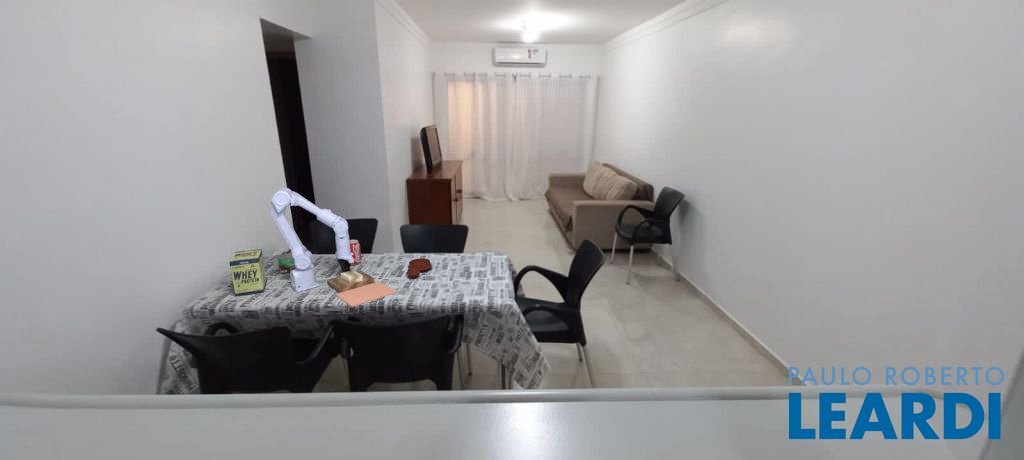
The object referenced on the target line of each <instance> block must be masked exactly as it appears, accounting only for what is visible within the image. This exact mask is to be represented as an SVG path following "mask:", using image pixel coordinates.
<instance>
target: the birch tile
mask: <svg viewBox="0 0 1024 460" xmlns="http://www.w3.org/2000/svg"><path fill="white" fill-rule="evenodd" d="M357 272H358V271H356V270H354V269H353V270H350V271H348V272H344V273H343V272H341V273H340V276H341V279H342V280H344V281H346V282H347V283H349V284H352V283H356V282H360V281H363V276H362V275H361V274H359V273H357Z"/></svg>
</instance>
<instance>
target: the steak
mask: <svg viewBox="0 0 1024 460" xmlns="http://www.w3.org/2000/svg"><path fill="white" fill-rule="evenodd" d="M408 264H409V265H407V269H408V270H407V271H406V272H405V274H406V275H407V277H408V278H409V279H410V280H416V279H417V278H418V276H419V275H420V274H421V273H422V271H423V272H425V271H426V270H428V269H431V268H432V266H433V264H432V263H431V260H430V259H428V258H424V257H423V258H420V257H419V258H414V259H411V260H409V262H408Z"/></svg>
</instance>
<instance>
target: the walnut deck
mask: <svg viewBox="0 0 1024 460" xmlns="http://www.w3.org/2000/svg"><path fill="white" fill-rule="evenodd" d="M356 272H357V273H359V274H361V275H362V276H363V281H360V282H356V283H352V284H349V283H347V282H346V281H344V280H342V279H341V275H340V276H336V277H335V276H334V277H332V278H331V277H330V278H329V279H326V284H327V286H328V287H330V288H332V290H334V291H335V292H337V294H338V293H341V292H344V291H348V290H351V289H355V288H358V287H362V286H365V285H368V284H372V283H375V277H374V276H372V275H370V274H368V273H366V272H364V271H362V270H358V271H356Z"/></svg>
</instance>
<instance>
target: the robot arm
mask: <svg viewBox="0 0 1024 460" xmlns="http://www.w3.org/2000/svg"><path fill="white" fill-rule="evenodd" d="M270 202H271V203H270V209H269V214H270V217H271V218H272V220H273V222H274V223H275V225H276V227H277V229H278V231H279V232H280V234H281V236H282V237H283V239H284V241H285V242H286V244H287V246H288V248H289V250H290V249H291V251H292V256H293V258H294V261H295V266H296V269H294V270H292V271H290V273H289V277H290V278H289V279H290V282H291V283H290V284H291V286H290V288H292V289H293V290H294V291H296V292H297V293H298V292H303V291H307V290H309V289H314V288H317V287H320V286H321V285H320V283H318V282H316V273H315V266H314V264H313V263H312V261H313V256H314V255H313V254H312V252H311V251H310V250H308V248H307V247H306V246H305V245H303V243H302V240H300V238H299V236H298V234H297V233H296V231H295V229H294V227H293V225H292V224H291V222H290V219H289V218H288V217H287V215H286V213H285V212H286V209H287V207H288V206H289V204H290V207H293V206H294V207H296V206H299V207H301V208H303V209H304V210H306V211H308V212H309V213H311V214H313V215H315V216H316V219H317V220H318V221H319V222H320V223H322V224H324V225H326V226H327V227H329V228H331V229H332V230H333V231H334V234H335V235H334V236H335V237H334V238H335V247H336V248H335V249H336V251H335V256H336V258H337V260H336V262H337V263H338V264H339V266H340V268H341V273H344V272H348V271H351V266H352V265H351V263H353V262H354V258H353V257H352V255H354V254H353V253H351V250H350V241H349V240H350V235H349V231H348V230H349V223H348V221H347V220H346V219H345V218H344V217H341V216H340V215H339V216H338V215H336V214H335V213H333V212H332V210H331V209H327V208H320V207H318V206H317V205H316V204H314V203H312V202H311V201H309V199H306V198H305V197H304V196H302V195H301V194H299V193H298V192H296V191H292V190H291V189H290V188H289V187H281V188H279V189H278V191H277V192H275V193H274V194H273V196H272V198H271V199H270Z"/></svg>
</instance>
